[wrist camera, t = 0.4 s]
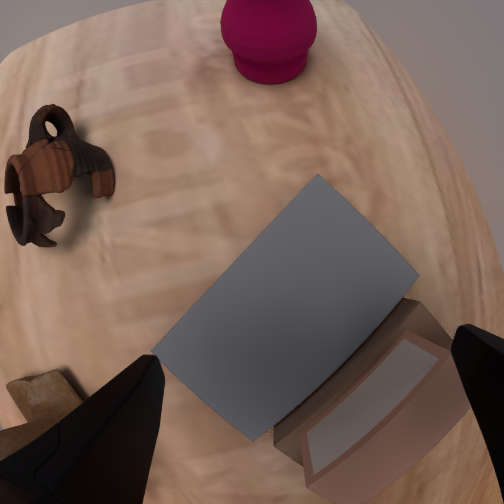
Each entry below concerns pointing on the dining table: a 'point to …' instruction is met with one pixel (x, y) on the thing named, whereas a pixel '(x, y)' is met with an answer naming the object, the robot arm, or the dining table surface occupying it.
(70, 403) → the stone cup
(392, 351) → the salmon pink block
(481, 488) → the dining table surface
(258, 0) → the pepper mill
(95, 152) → the pottery mug
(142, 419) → the robot arm
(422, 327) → the ledge
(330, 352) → the mat
